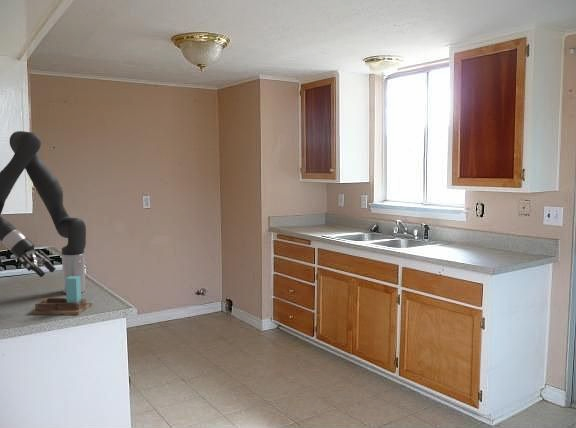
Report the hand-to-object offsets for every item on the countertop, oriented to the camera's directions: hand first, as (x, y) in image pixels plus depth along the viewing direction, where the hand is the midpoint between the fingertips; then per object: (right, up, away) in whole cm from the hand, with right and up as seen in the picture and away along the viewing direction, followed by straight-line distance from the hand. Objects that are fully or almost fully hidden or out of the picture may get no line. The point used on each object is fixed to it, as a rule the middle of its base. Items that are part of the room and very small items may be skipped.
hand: (48, 273), depth 202 cm
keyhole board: (+5, -15, +1) cm, 15 cm away
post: (+9, -14, +1) cm, 17 cm away
